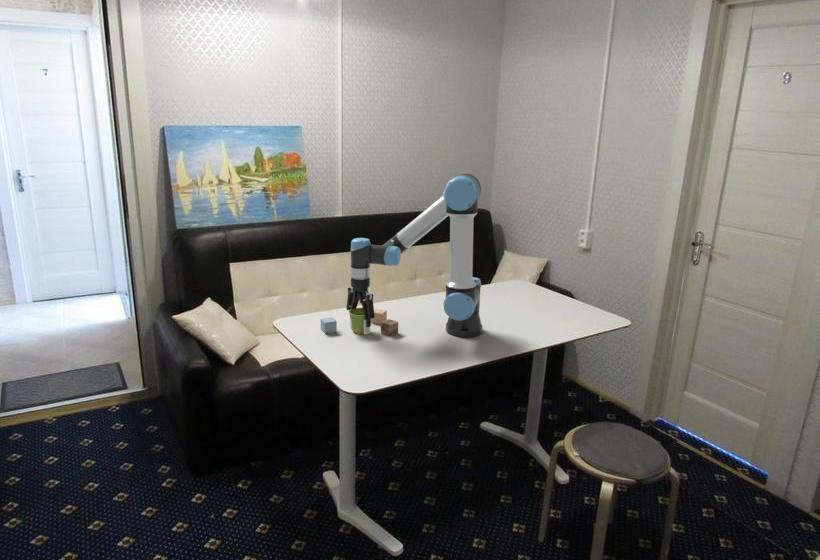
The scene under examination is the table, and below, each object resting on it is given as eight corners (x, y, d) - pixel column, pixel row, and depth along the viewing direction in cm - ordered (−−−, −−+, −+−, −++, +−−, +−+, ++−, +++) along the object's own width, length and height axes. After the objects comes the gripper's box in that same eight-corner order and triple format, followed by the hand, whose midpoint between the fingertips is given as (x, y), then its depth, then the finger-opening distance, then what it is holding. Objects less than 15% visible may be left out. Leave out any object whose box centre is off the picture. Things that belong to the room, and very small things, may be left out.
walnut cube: (398, 333, 238) (398, 321, 236) (390, 336, 234) (390, 325, 232) (388, 330, 240) (388, 319, 239) (380, 333, 237) (380, 322, 235)
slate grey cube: (336, 332, 236) (336, 321, 235) (324, 334, 234) (324, 322, 233) (332, 328, 241) (332, 317, 239) (320, 330, 239) (320, 318, 237)
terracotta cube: (386, 321, 251) (386, 310, 250) (381, 325, 246) (381, 313, 245) (376, 319, 253) (376, 308, 251) (371, 323, 248) (371, 312, 247)
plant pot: (370, 336, 234) (371, 315, 231) (347, 335, 234) (347, 314, 231) (372, 327, 243) (372, 308, 240) (350, 327, 243) (349, 307, 240)
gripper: (384, 281, 227) (383, 336, 233) (352, 270, 242) (352, 321, 248) (369, 284, 222) (368, 340, 228) (337, 273, 237) (337, 325, 243)
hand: (360, 330), depth 238 cm, fingers closed on plant pot, 8 cm apart
